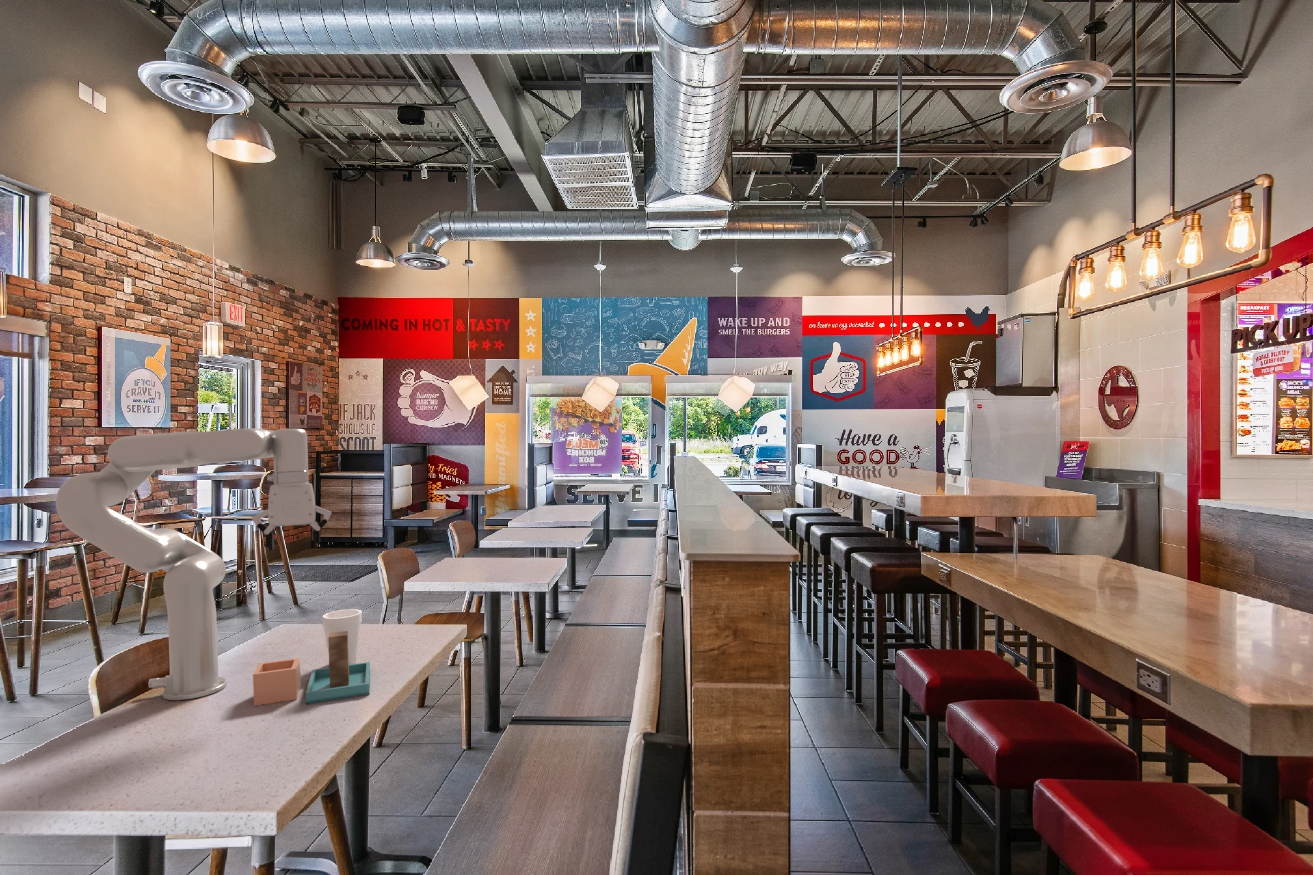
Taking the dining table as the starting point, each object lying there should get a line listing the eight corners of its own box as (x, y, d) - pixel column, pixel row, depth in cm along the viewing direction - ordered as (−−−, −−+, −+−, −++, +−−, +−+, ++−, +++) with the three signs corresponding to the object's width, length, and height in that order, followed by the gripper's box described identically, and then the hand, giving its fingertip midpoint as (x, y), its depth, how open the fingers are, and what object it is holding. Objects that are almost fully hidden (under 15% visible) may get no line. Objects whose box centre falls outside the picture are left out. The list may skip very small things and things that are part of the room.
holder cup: (253, 705, 154) (252, 674, 154) (260, 692, 162) (259, 663, 162) (296, 699, 157) (295, 668, 157) (300, 686, 165) (299, 657, 165)
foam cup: (353, 668, 177) (351, 618, 177) (317, 669, 177) (315, 619, 177) (369, 656, 186) (367, 608, 186) (335, 657, 187) (333, 609, 187)
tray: (306, 704, 154) (305, 693, 154) (312, 679, 170) (312, 669, 170) (369, 694, 159) (368, 683, 159) (370, 671, 174) (369, 661, 174)
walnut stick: (329, 688, 162) (328, 637, 161) (331, 683, 165) (329, 632, 165) (348, 685, 163) (347, 635, 163) (349, 680, 167) (347, 630, 167)
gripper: (248, 481, 164) (250, 553, 164) (329, 477, 170) (331, 547, 170) (253, 479, 171) (256, 549, 171) (331, 476, 177) (333, 543, 177)
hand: (293, 548), depth 170 cm, fingers open, 9 cm apart
